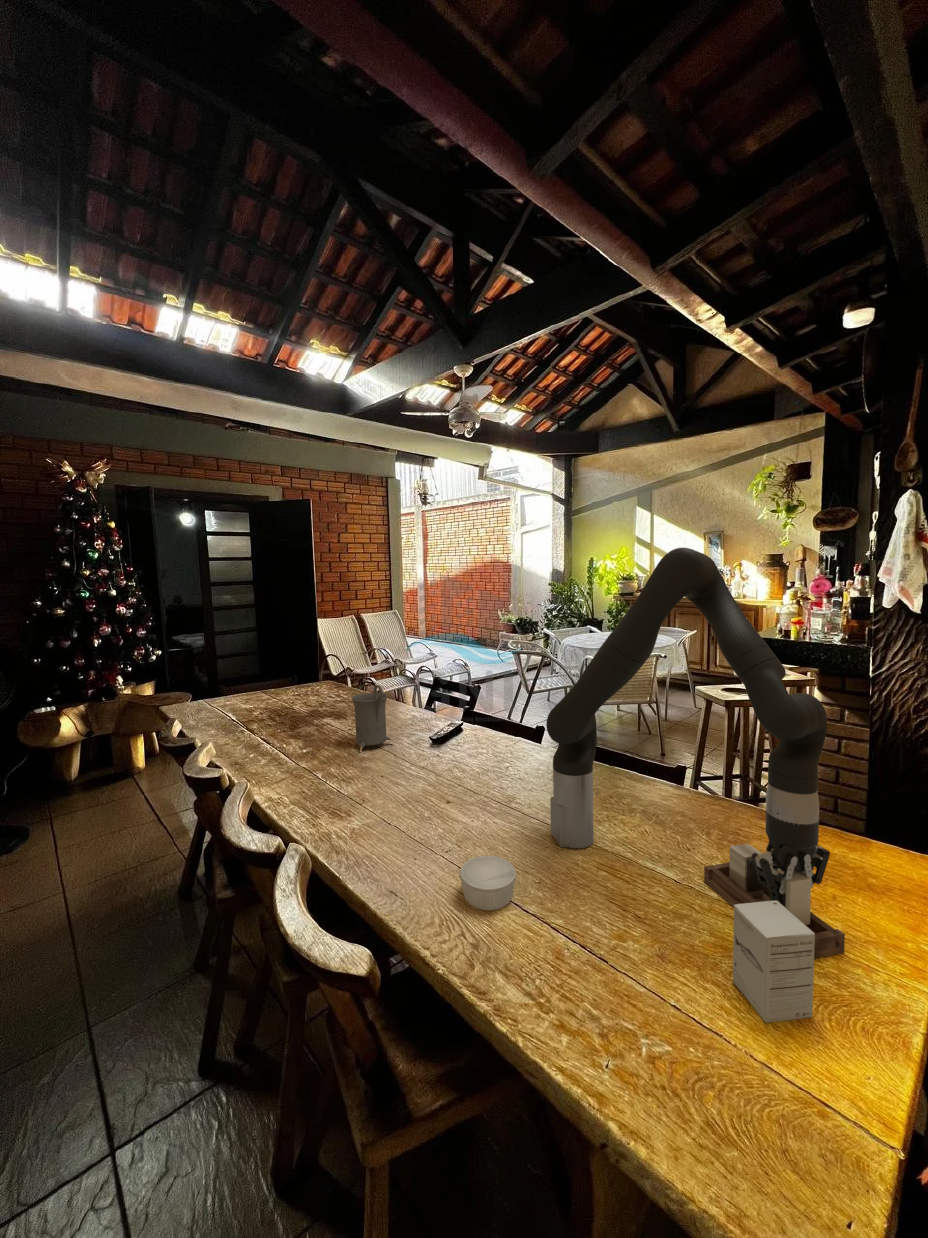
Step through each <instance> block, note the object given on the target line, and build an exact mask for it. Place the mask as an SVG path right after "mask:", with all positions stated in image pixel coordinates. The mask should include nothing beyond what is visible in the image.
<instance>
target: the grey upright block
mask: <svg viewBox="0 0 928 1238" xmlns="http://www.w3.org/2000/svg"><path fill="white" fill-rule="evenodd" d="M779 870H780V871H782V870H781V869H779ZM782 872H783V873H784V871H782ZM779 881H780V878H779V877H778V876H777V882H778V883H779ZM811 889H812V888H811V878H809V877H808V878H807V877H805V876H804V875H802V874H801V873H799V872H798V871H795V872H793V875H792V879H791V881H787V882H786V892H785V893H786V903H785V908H786V909H787V910H788V911H790V912H791V913H792V914H793V915H794V916H796V918H798V919H799V920H800V921H801V922H802V923H803V924H804V925H808V924H810V912H811V900H812V899H811V892H812V890H811ZM770 895H771V890H770ZM770 898H771V897H770ZM770 900H771V899H770Z"/></svg>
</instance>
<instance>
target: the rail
mask: <svg viewBox="0 0 928 1238" xmlns="http://www.w3.org/2000/svg"><path fill="white" fill-rule="evenodd" d="M753 853H757V854H759V855H761V854H763V853H762V852H761V851H760V850H758V849H756V848H755V847H753V846H752V845H750V844H749V843H743V844H737V845H730V846H729V862H723V863H718V864H712V865H711V864H710V865H705V866H704V867H703V868H704V871H703V872H704V874H703V875H704V876H703V879H704V880H703V882H704V883H705V884H706V885H708V887H709V888H711V889H712V890H713V891H714V892H716V894H717V895H719V896H720V897H721V898H722V899H724V901H726V902H727V903H728V904H730V906H731V907H733V908H734V905H735V904H744V903H754V902H763V901H770V890H769V889H768V888H766V887H765V886H764V885H762V884H761V883H760V881H759V878H758V875H757V872H756V869H755V866H754V863H753V860H752V854H753ZM806 926H807V927H808V928H809V929H810V930H811V931H813V932H814V934H815V945H814V960H815V959H820V958H825V957H829V956H834V955H838V954H844V953H845V944H846V943H845V942H846V941H845V938H846V937H845V935H846V934H845V933H844V932H843V931H841V929H839V928H836V929H835V928H834V927H832V926H831V925H829V924H828V923H827V922H825V921H824V920H823V919H821V918H820V917H819V916H817V915H816V914H815V913H813V912H812V911H810V924H808V925H806Z"/></svg>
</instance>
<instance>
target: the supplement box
mask: <svg viewBox="0 0 928 1238" xmlns="http://www.w3.org/2000/svg"><path fill="white" fill-rule="evenodd" d="M732 939H733V943H732V945H733V946H732V947H733V949H732V952H733V953H732V983H733V984H734V985H735V986H736V987H737V988H738V990H739V991H740V992H741V993H742V994H743V996H744V997H745V998H746V999H747V1001H748V1002H749V1003H750V1004H751V1006H752V1008H754V1010H755V1011H756V1012H757V1013H758V1015H759V1016H760V1018H761V1019H762V1020H763V1022H764V1023H775V1022H776V1023H777V1022H785V1021H794V1020H803V1019H810V1018H813V1006H814V1001H813V1000H814V972H815V971H814V969H815V959H814V945H815V934H814V932H813V931H811V930H810V929H809V928H808V927H807V926H806V925H804V924H803V923H802V922H801V921H800V920H799V919H798V918H796V916H794V915H793V914H792V913H791V912H790V911H788V910H787V909H786V908H785V907H784V906H783V905H782V904H781V903H779V902H778V901H763V902H754V903H744V904H735V905H734V907H733V938H732Z"/></svg>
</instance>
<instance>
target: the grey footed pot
mask: <svg viewBox="0 0 928 1238" xmlns="http://www.w3.org/2000/svg"><path fill="white" fill-rule="evenodd" d="M377 689H378V690H379V692H377ZM388 697H389V696H388V695H387V694H385V693H384V691H383V688H382V687H381V685H379V684H376V685H375V686H374V688H373V692H367V693H360V694H355V695H353V696H351V701H352V703H353V705H354V721H355V724H354V725H355V742H356V744H358V745H359V747H364V746H365V747H366V746H376V745H381V744H383V743H385V742H386V740H391V741H392V739H391V738H390V737H389V736H387V722H386V721H387V718H386V702H387V699H388ZM365 747H364V748H365Z"/></svg>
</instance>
